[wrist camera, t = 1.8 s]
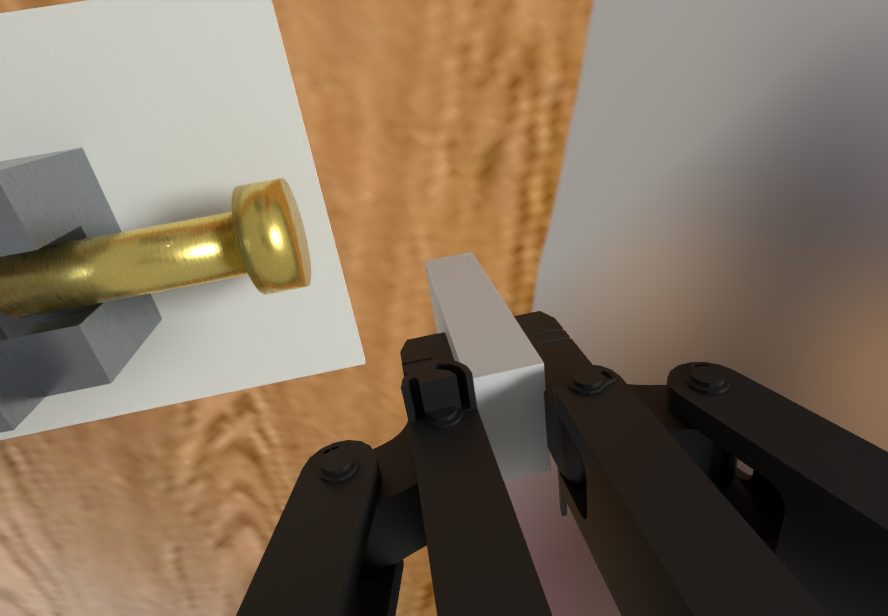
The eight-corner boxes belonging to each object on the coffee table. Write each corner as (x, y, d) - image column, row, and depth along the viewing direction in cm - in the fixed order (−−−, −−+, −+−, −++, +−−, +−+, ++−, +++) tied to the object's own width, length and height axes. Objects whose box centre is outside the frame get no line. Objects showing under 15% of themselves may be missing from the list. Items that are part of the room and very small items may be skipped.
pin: (287, 168, 24) (270, 191, 20) (314, 264, 27) (305, 304, 22) (16, 216, 23) (-67, 252, 19) (69, 311, 26) (6, 363, 21)
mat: (-304, 60, 21) (-322, 60, 21) (265, -23, 23) (263, -26, 23) (-18, 439, 31) (-25, 445, 31) (365, 359, 33) (365, 363, 33)
